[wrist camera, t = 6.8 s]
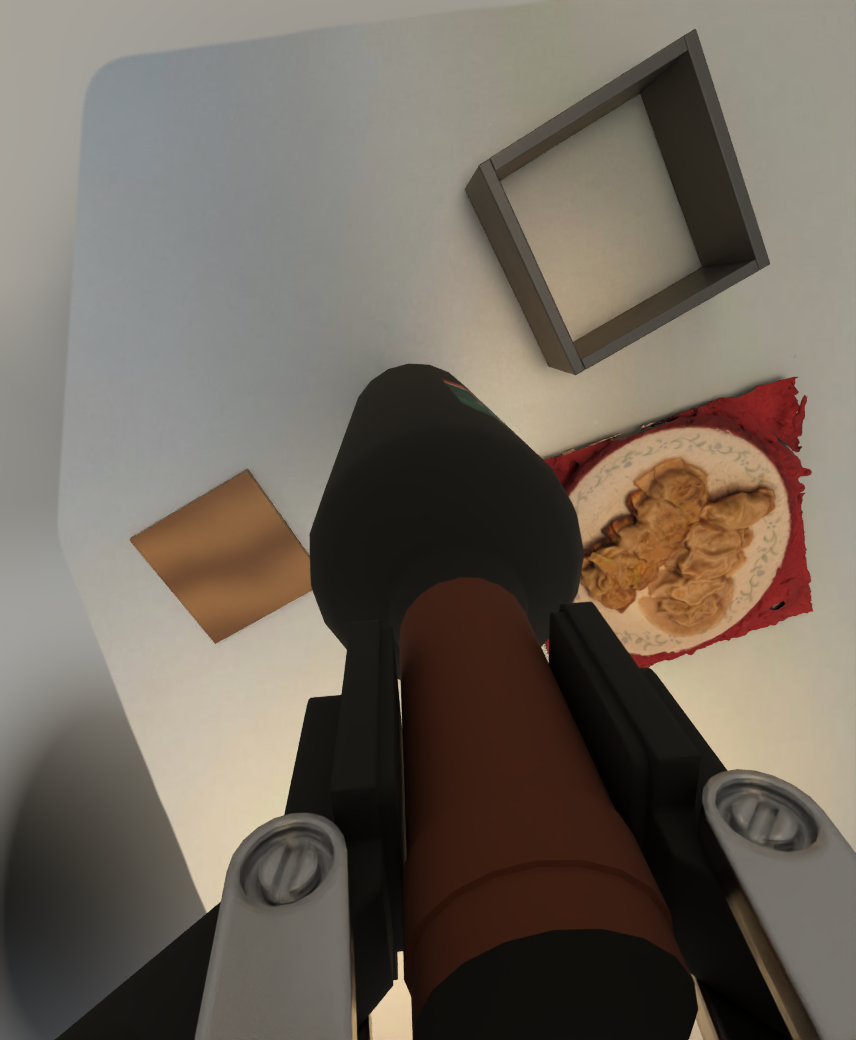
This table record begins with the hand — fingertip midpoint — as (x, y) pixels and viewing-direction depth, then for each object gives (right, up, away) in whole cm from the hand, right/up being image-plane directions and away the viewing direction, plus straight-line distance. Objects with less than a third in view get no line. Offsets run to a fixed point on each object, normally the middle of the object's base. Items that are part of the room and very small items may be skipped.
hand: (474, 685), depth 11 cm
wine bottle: (-2, +8, +23) cm, 25 cm away
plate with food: (+21, +1, +42) cm, 47 cm away
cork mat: (-18, 0, +40) cm, 44 cm away
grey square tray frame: (+12, +25, +33) cm, 43 cm away
